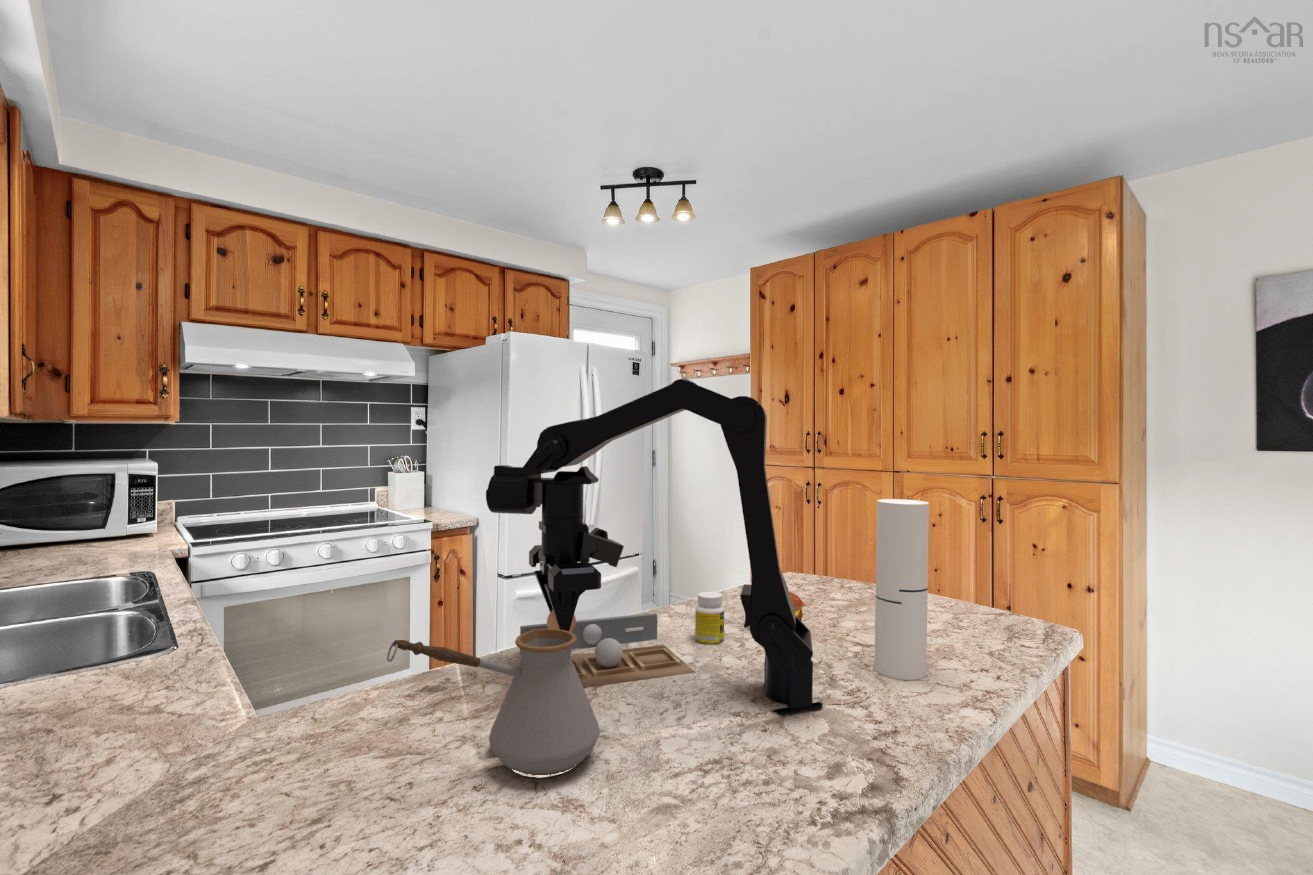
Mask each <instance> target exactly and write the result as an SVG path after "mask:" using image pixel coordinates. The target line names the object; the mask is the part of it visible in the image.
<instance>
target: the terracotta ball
mask: <svg viewBox="0 0 1313 875" xmlns="http://www.w3.org/2000/svg"><path fill="white" fill-rule="evenodd" d="M576 621H577V619H576V615H575V614H574V616H573V620H572V623H571V627H570V630H569V632H572V631H573V629H574V628H575V625H576ZM546 624H547V627H548V629H559V630H560V628H559V625H558V623H557V620H556V617H555V614H554V611H553V610H552V611H551V612H550V611H549V614H548V616H547V619H546Z"/></svg>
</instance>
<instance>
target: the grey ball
mask: <svg viewBox="0 0 1313 875" xmlns="http://www.w3.org/2000/svg"><path fill="white" fill-rule="evenodd" d="M622 650H623V647H622V645H621V643H619V642H618V641H616V640H615V639H612V638H606V639H603V640H601V641H600V642H599V643H598V644H597V646H595V649H594V653H595V658H596V660H597V662H598V663H599V664H600V665H601V666H603V667H606V668H610V667H614V666H616V665H617V664H618V663H619V662H620V660H621V658H622V654H623V651H622Z"/></svg>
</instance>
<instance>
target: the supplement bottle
mask: <svg viewBox="0 0 1313 875" xmlns="http://www.w3.org/2000/svg"><path fill="white" fill-rule="evenodd" d="M722 604H723V594H722V593H720V592H717V591H702V592H701V591H700V592H699V593H698V594H697V604H696V606H695V610H694V611H695V613H694V614H695V616H694V618H695V619H694V620H695V623H694V624H695V625H694V626H695V627H694V641H695V642H697V643H698V644H702V645H710V646H713V645H714V646H715V645H720V644H722V643H724V641H725V640H724V639H725V609H724V606H723V605H722Z"/></svg>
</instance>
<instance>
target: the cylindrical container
mask: <svg viewBox="0 0 1313 875" xmlns="http://www.w3.org/2000/svg"><path fill="white" fill-rule="evenodd" d="M929 524H930V502H928V501H923V500H916V499H903V498H902V499H901V498H899V499H898V498H881V499H877V500H876V538H875V539H876V542H875V543H876V544H875V545H876V546H875V547H876V548H875V552H876V553H875V555H876V558H875V602H874V603H875V607H874V608H875V611H874V612H875V614H874V617H875V618H874V670H875V671H876V672H878V673H879V674H881V675H883V676H885V677H888V678H890V679H891V678H892V679H896V680H903V681H917V680H922V679H924V678H925V677H926V676H927V653H928V652H927V648H928V647H927V646H928V645H927V644H928V641H927V640H928V599H929V598H928V593H929V589H928V587H929V540H930V538H929V536H930V534H929V532H930V531H929V530H930V527H929V526H930V525H929Z"/></svg>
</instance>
